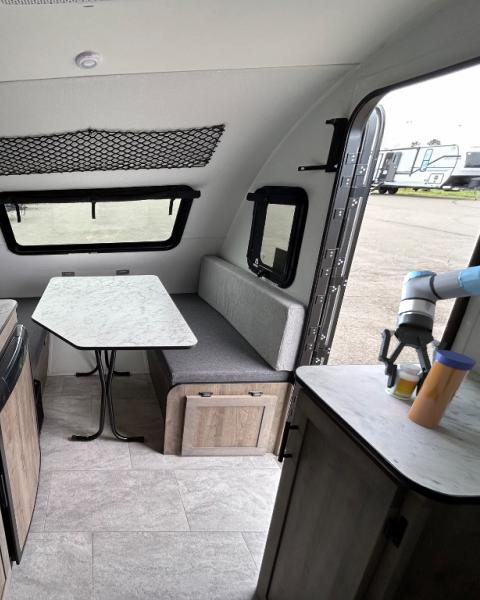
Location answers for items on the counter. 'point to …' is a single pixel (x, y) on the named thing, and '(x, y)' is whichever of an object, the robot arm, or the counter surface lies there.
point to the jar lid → (455, 360)
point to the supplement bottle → (405, 381)
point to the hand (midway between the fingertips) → (404, 390)
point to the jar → (436, 394)
